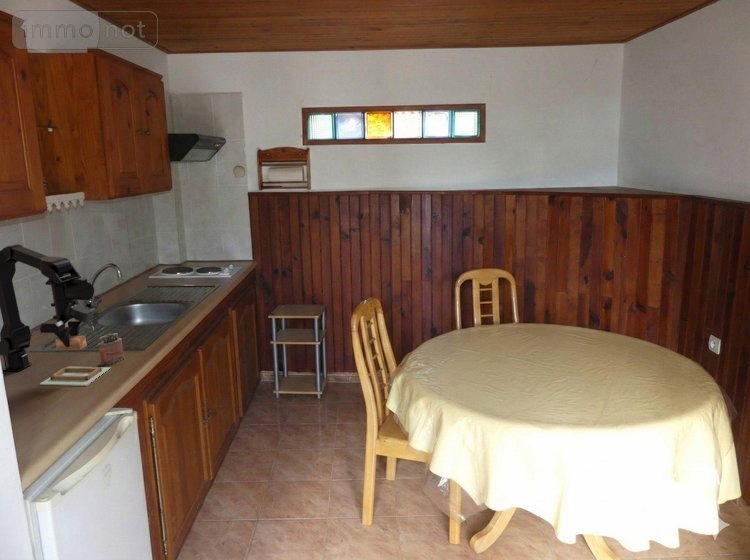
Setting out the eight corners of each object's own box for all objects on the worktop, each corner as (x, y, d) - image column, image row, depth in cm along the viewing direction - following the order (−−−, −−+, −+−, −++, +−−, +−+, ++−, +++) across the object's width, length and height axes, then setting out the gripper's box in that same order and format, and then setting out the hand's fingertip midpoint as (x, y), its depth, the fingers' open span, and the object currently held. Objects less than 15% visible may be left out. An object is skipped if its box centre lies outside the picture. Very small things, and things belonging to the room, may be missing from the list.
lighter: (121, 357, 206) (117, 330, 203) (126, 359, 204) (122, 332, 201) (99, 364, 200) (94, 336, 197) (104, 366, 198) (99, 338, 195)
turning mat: (39, 384, 184) (39, 380, 184) (67, 367, 198) (66, 363, 197) (86, 385, 182) (85, 381, 182) (111, 368, 196) (110, 364, 195)
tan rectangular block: (80, 349, 185) (78, 339, 185) (57, 349, 186) (55, 339, 186) (86, 345, 189) (85, 335, 188) (64, 345, 190) (62, 335, 189)
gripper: (68, 306, 174) (76, 355, 177) (104, 290, 192) (110, 335, 195) (34, 306, 175) (43, 355, 179) (72, 290, 193) (80, 334, 197)
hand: (71, 344), depth 187 cm, fingers closed on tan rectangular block, 3 cm apart
